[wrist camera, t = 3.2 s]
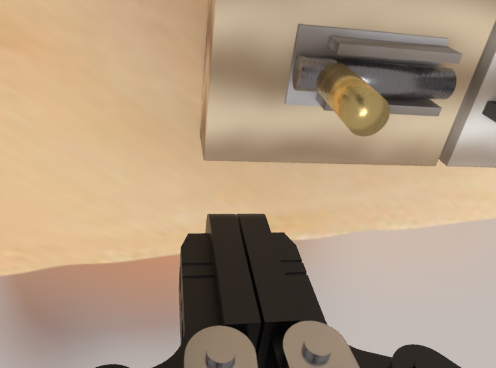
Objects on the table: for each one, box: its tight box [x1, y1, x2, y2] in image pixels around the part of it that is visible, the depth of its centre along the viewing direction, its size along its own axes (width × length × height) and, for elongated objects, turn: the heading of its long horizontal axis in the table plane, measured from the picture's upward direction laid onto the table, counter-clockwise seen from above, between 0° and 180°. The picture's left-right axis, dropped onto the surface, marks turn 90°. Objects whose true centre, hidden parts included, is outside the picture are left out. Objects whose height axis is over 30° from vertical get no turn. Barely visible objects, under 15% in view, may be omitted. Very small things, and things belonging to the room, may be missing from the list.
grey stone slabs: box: [200, 0, 496, 168], centre depth 28 cm, size 14×26×8 cm, turn 83°
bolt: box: [292, 56, 457, 137], centre depth 24 cm, size 2×10×7 cm, turn 83°
